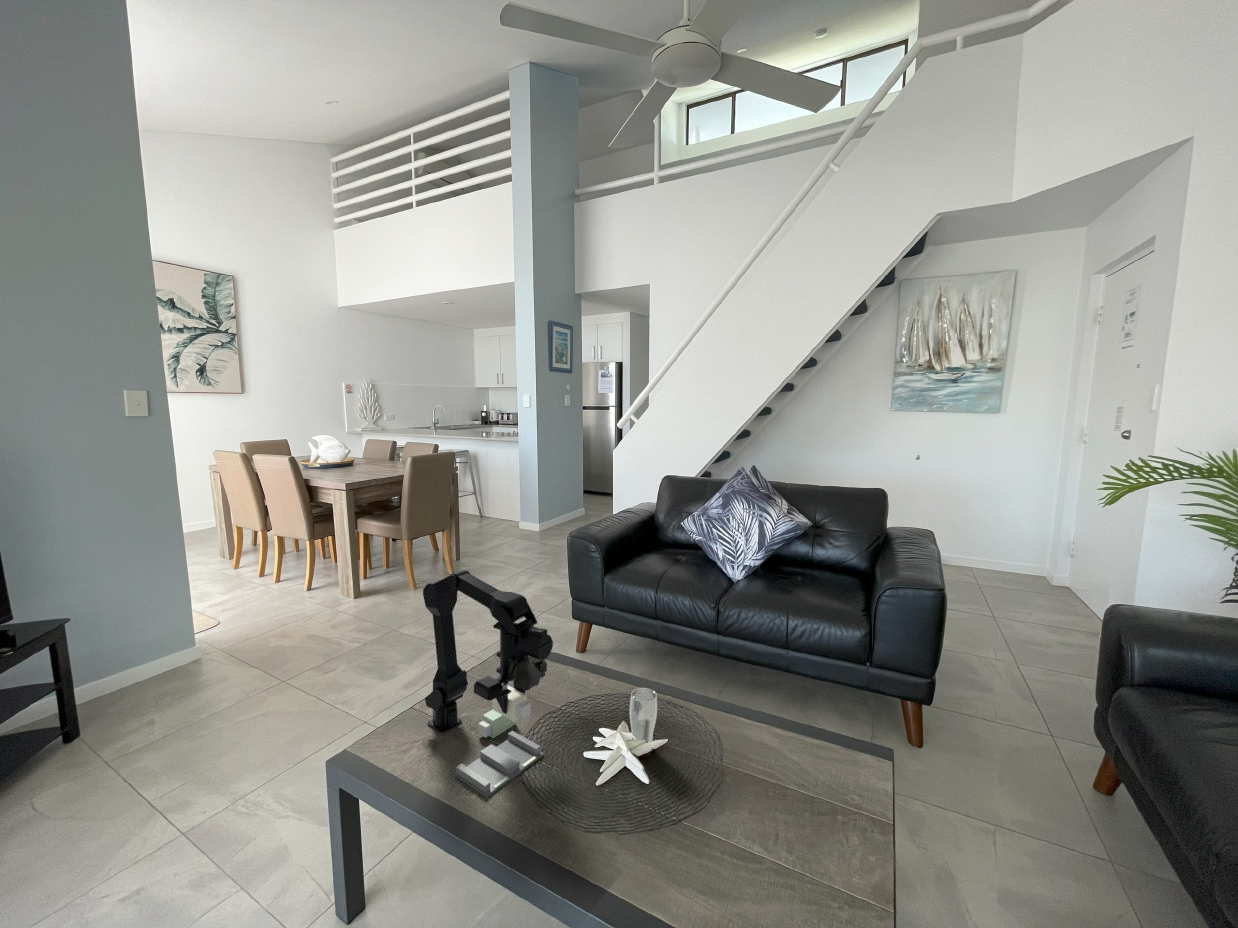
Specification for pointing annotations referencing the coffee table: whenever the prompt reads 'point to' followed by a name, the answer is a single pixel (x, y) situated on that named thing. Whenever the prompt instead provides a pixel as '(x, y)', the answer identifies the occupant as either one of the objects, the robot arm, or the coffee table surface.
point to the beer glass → (643, 713)
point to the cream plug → (514, 705)
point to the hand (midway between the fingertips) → (511, 708)
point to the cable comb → (499, 764)
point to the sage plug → (494, 724)
